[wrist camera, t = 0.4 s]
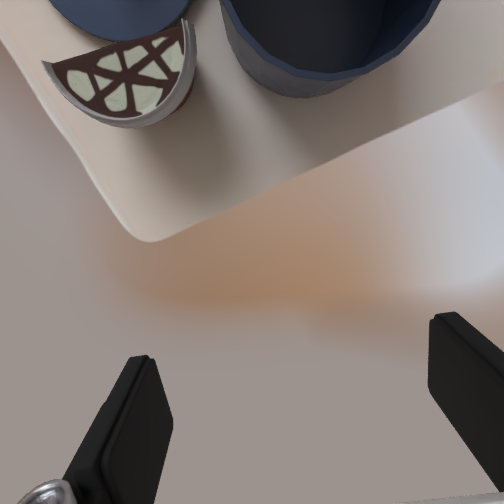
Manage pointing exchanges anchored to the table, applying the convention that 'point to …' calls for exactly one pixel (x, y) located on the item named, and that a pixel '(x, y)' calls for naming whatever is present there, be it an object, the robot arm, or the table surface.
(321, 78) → the pot
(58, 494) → the robot arm
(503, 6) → the table surface
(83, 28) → the pot lid
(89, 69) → the food container
